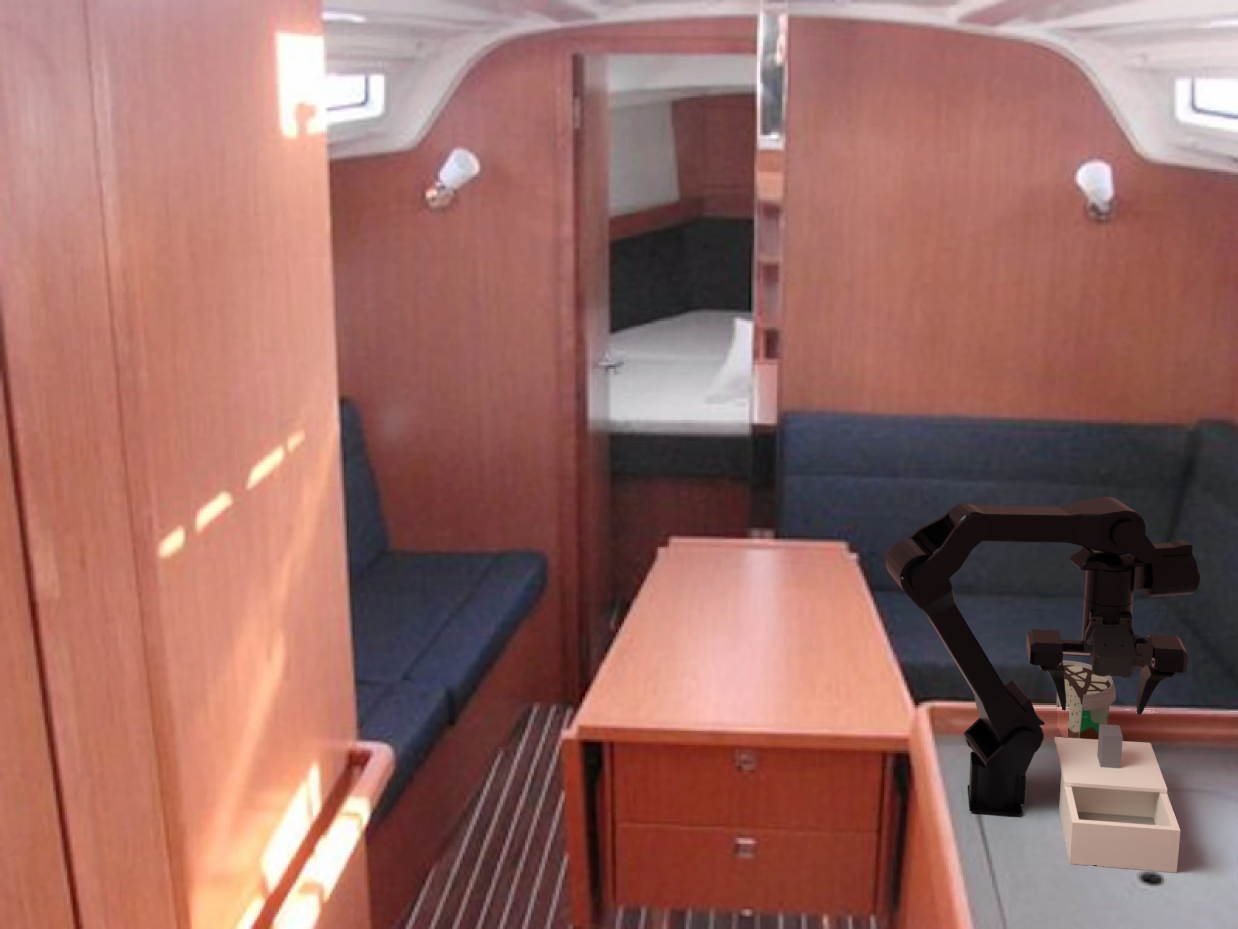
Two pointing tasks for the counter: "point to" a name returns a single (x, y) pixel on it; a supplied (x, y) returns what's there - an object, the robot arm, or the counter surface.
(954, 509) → the robot arm
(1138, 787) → the lid
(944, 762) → the counter surface
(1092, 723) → the food container
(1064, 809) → the carton
